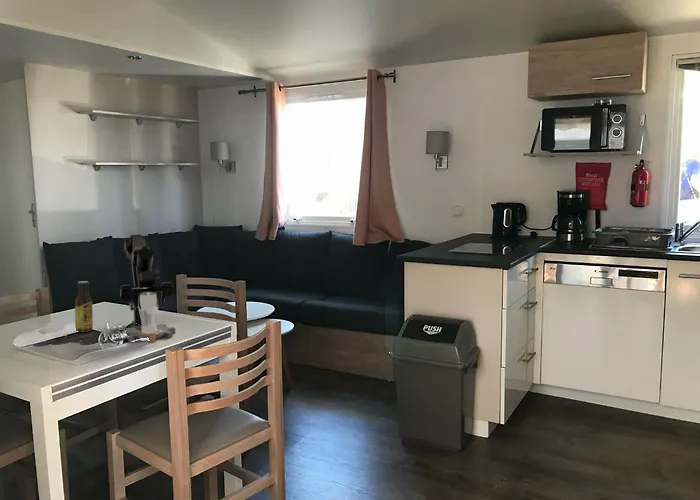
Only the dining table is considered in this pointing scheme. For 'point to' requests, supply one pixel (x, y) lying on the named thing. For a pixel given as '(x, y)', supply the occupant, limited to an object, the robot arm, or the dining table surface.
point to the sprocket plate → (162, 333)
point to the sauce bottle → (83, 308)
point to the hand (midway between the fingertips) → (149, 308)
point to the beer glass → (148, 312)
